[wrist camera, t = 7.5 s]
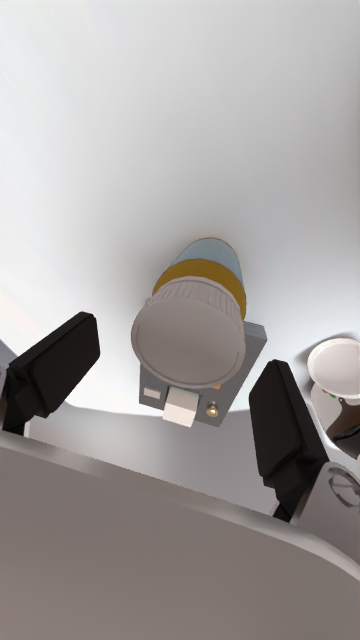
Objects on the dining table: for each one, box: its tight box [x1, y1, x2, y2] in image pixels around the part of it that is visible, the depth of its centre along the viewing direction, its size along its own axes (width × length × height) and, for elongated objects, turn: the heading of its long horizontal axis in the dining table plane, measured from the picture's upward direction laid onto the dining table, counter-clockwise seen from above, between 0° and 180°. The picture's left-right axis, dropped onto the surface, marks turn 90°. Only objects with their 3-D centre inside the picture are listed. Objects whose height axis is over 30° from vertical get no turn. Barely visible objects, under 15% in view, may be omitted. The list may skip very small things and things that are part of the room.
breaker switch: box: [163, 386, 199, 427], centre depth 32 cm, size 5×5×5 cm
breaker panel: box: [139, 321, 267, 427], centre depth 30 cm, size 16×22×4 cm
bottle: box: [131, 238, 246, 389], centre depth 16 cm, size 7×7×15 cm
